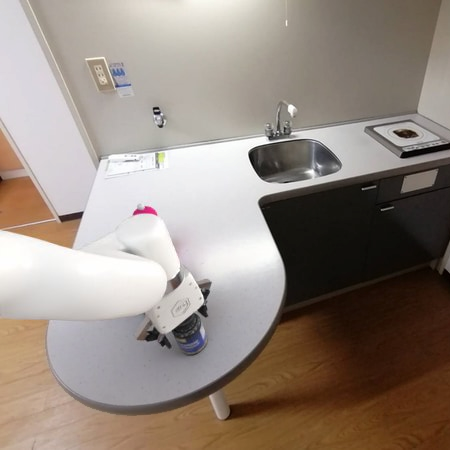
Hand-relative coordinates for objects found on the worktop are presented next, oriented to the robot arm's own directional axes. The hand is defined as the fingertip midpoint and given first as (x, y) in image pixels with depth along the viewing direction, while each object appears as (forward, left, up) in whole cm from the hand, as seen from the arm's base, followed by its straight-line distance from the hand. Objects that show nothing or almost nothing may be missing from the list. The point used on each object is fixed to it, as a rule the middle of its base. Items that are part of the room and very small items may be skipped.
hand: (185, 328), depth 66 cm
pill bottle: (0, 0, -7) cm, 7 cm away
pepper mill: (+11, +30, -7) cm, 33 cm away
